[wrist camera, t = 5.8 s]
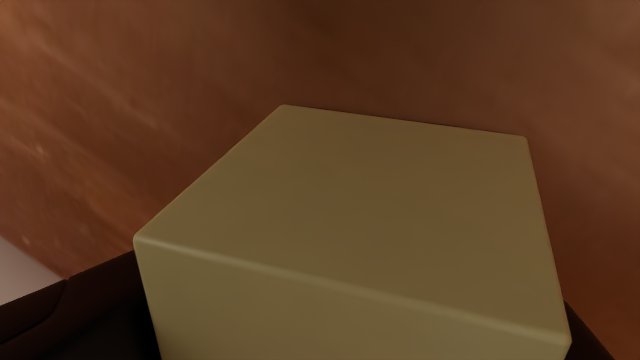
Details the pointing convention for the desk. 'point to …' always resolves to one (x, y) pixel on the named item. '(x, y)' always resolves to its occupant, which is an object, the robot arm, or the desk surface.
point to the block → (356, 247)
